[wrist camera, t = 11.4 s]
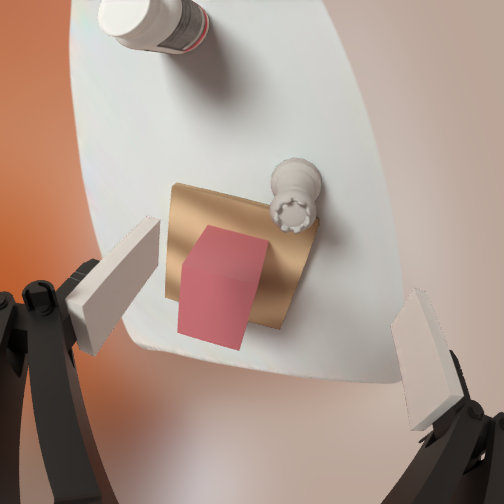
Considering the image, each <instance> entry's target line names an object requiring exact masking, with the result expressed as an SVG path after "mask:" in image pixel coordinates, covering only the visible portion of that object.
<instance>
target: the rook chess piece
mask: <svg viewBox="0 0 504 504" xmlns="http://www.w3.org/2000/svg"><path fill="white" fill-rule="evenodd" d="M271 189H272V192H273V195H274V198H273V200H272V202H271V203H270V211H269V213H270V216H271V219H272V221H273V222H274V223H275V225H276V226H277V227H278V228H280V230H281V231H283V232H285V233H287V232H293V233H294V234H298V233H301V231H304V230H306V229H307V228H309V227H310V226H311V225H312V224H313V222H314V221H315V219H316V214H317V208H316V204H315V200H316V199H317V197H318V195H319V194H320V189H321V177H320V173H319V171H318V170H317V168H316V167H315V166H314V165H313V164H312V163H310V162H308V161H307V160H305V159H300V158H291V159H287V160H284V161H283V162H281V163H280V164H279V165H277V166H276V168H275V170H274V172H273V173H272V178H271Z"/></svg>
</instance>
